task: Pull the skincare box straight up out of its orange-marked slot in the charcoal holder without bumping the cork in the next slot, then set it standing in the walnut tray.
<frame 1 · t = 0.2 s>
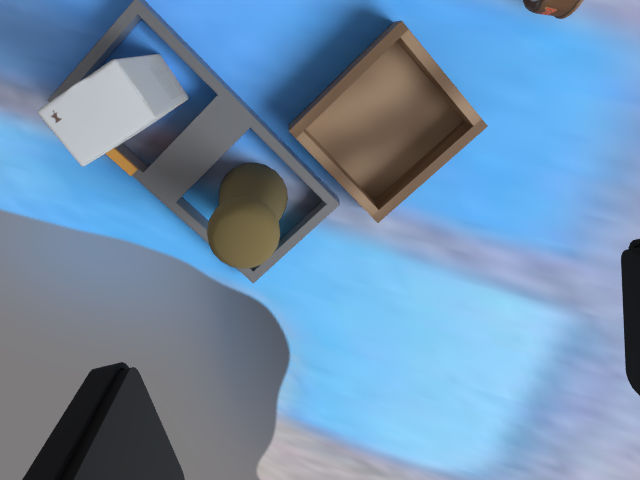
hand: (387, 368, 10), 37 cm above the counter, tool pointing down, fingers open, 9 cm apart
tray: (382, 122, 45), on the counter
cork: (253, 195, 47), resting in slot holder
slot holder: (202, 147, 45), on the counter
skincare box: (147, 94, 43), resting in slot holder
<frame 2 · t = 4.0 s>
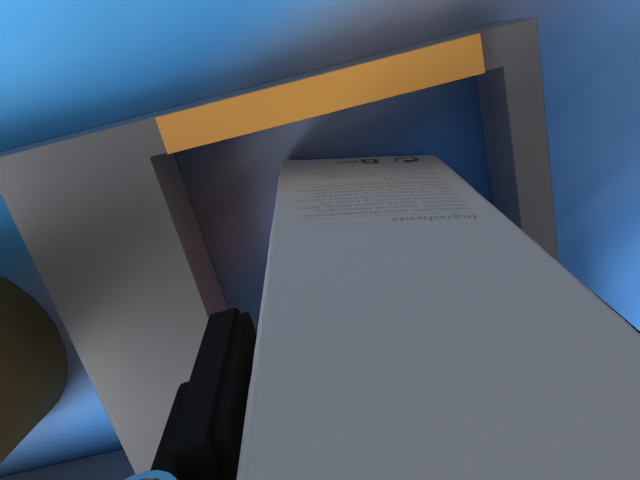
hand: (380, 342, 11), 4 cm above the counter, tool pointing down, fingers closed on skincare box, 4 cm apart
slot holder: (156, 309, 15), on the counter
skincare box: (356, 257, 15), resting in slot holder, touching gripper
when the fingers open (7 cm above the counter, at t = 12.6 s): skincare box drops 2 cm, resting on tray.
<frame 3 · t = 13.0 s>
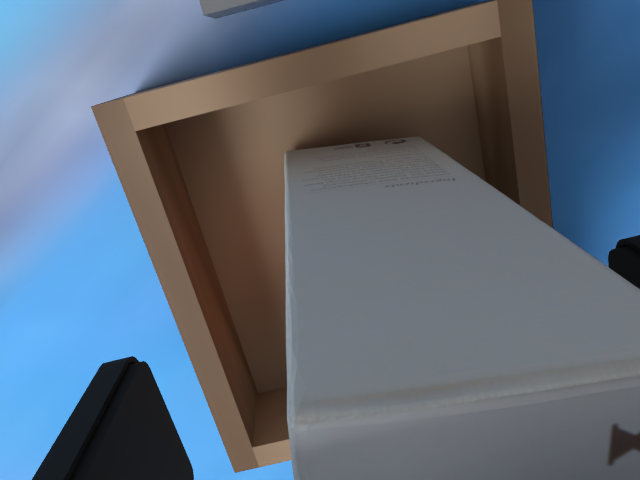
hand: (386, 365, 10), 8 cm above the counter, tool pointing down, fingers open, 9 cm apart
tray: (347, 227, 18), on the counter
skincare box: (357, 233, 17), point 1 cm above the counter, touching tray
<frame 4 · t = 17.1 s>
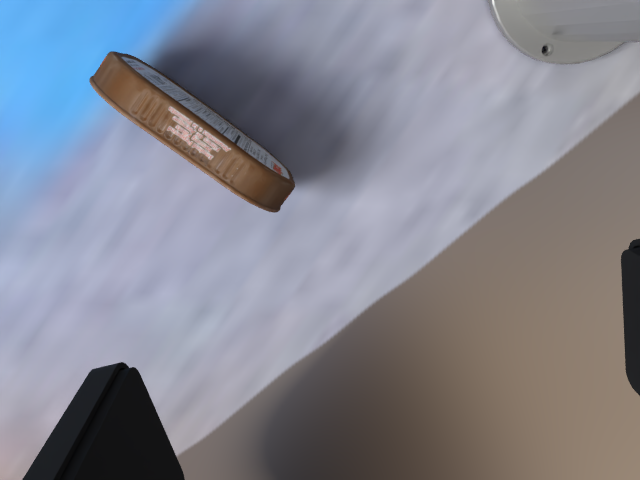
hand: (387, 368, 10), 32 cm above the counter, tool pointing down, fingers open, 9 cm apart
tin: (210, 123, 40), on the counter
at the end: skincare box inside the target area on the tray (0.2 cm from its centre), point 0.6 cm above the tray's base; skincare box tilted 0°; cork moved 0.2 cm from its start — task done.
